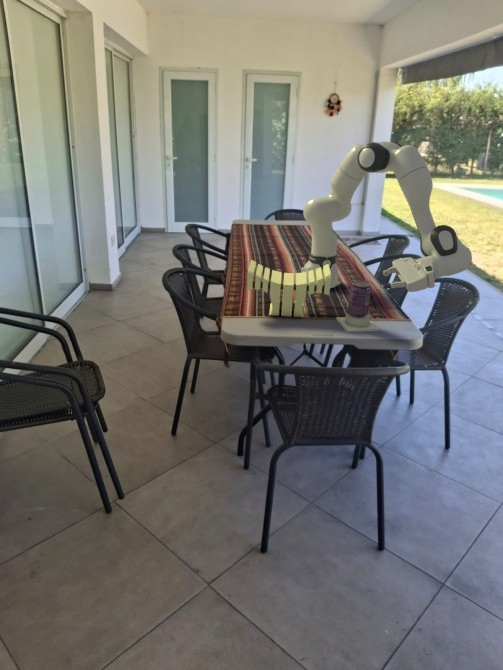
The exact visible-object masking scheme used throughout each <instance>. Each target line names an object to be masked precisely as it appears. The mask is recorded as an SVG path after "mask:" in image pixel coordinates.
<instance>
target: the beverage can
mask: <svg viewBox="0 0 503 670" xmlns="http://www.w3.org/2000/svg"><path fill="white" fill-rule="evenodd" d="M370 286H371V284H370V283H369V282H366V281H361V280H358V281H357V280H355V281H353V282H352V284H351V286H350V289H349V299H348V307H347V312H348V314H350V315H351V316H353V317H358V318H360V317H364V316H366V315H367V313H368V311H369V304H370V298H371V292H372V291H371V290H372V289H371V287H370ZM368 314H369V313H368Z"/></svg>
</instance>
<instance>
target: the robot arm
mask: <svg viewBox="0 0 503 670" xmlns="http://www.w3.org/2000/svg"><path fill="white" fill-rule="evenodd" d="M389 172H392V173H393V174H394V176H395V178H396V180H397V183H398V185H399V187H400V189H401V192H402V194H403V195H404V198H405V200H406V202H407V204H408V207H409V209H410V211H411V214H412V217H413V220H414V223H415V225H416V228H417V231H418V234H419V237H420V239H419V240H420V243H419V246H420V248H419V249H420V252H421V254H422V255H423V257H419V258H413V257H410V256H408V257H403V258H402V257H401V258H397V259H394V260H393V261H391V262H392V263H391V264H392V266H391V267H389V268H388V269H385V270H383V271H382V274H383V276H384V277H388V276H390V274H396V276H397V277H398V278H399V280H400V281H396V280H393V281H391V282H389V283H390V284H389V285H390V287H391V289H396V288H406V290H407V291H408V292H409V293H414V292H415V293H416V292H419V291H423V290H427V289H433V288H435V285H436V282H435V281H436V280H438V279H440V278H442V277H449V276H453V275H456V274H457V275H458V274H460V273H462V272H464V271H466V270H468V269H469V268H470V266H471V265H472V256H473V255H472V252H471V249H470V248H469V247H468V246H466V244H465V245H464V244H463V242H462V241H461V240H460V238H459V237H458V235H457V233H456V231H455V229H454V228H453V227H452V226H450V225H447V224H440V225H438V226H437V225H436V223H435V221H434V218H433V217H434V216H433V215H432V212H431V209H430V207H431V206H430V201H431V200H430V198H431V195H432V191H433V185H434V183H433V179H432V175H431V172H430V170H429V168H428V166H427V163H426V161H425V159H424V157H423V156H422V154H421V152H420V151H419V150H418V149H417V147H415V146H414V145H412V144H406V145H401V144H400V143H397V142H391V141H378V142H377V141H376V142H375V141H373V142H369V143H368V142H367V143H366V144H363V143H362V144H360V143H359V144H356V145H353V146H352V147H351V149H349V151H348V152H347V153H346V155H345V156H344V157H343V159H342V160H341V162H340V164H339V165H338V167H337V168H336V169H335V171H334V174H333V175H332V177H331V179H330V182H329V183H330V188H331V189H330V192H329V193H328V194H327V195H326V196H322V197H321V196H320V197H316V198H313V199H311V200H308V201H307V202H306V203H305V204H304V206H303V213H302V214H303V218H304V219H305V221H306V222H307V223H308V224H309V228H310V230H311V249H310V250H311V251H310V254H309V255H308V261H307V262H306V263H305V264H304V267H302V266H301V268H300V269H301V270H300V273H302V272H306V280H307V285H308V271H311V270H313V272H314V279H315V285H316V273H315V272H316V269H317V268H320V267H321V271H322V276H323V284H322V286H324V274H323V266H325V265H327V264H329V268H330V272H331V283H330V289H332V288H336V287H337V286H339V285H341V281H340V280H339V266H338V265H337V260H338V256H337V255H338V254H337V247H338V239H339V238H338V236H337V234H336V233H335V232H334V230H333V229H334V228H333V223H335V222H339V221H342V220H344V219H346V218H348V217H349V216H350V215H351V212H352V203H351V201H352V199H353V196H354V194H355V192H356V191H357V189H358V187H359V186H360V184H361V182H362V181H363V180H364V178H365V177H366V174H367V173H371V174H373V173H376V174H377V173H379V174H383V173H389Z"/></svg>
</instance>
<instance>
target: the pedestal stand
mask: <svg viewBox="0 0 503 670" xmlns="http://www.w3.org/2000/svg"><path fill="white" fill-rule="evenodd" d="M371 318H372V316H371V314H369V313H367V315H366V316H364V317H360V318H358V317H353V316H351V315H350V314H348V311H347V312H346V313H345V316H342V317H341V316H340V317H337V316H336V319H335V320H336V321H337V323H339V324H340V326H342V328H343V329H344V330H345V331H346V332H347V333H354V332H355V333H356V332H357V333H359V332H379V331H380V328H379V327H378V326H377V325H376V324H375V323H374V322H373V321H372V320H371Z"/></svg>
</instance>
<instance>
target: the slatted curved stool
mask: <svg viewBox="0 0 503 670" xmlns="http://www.w3.org/2000/svg"><path fill="white" fill-rule="evenodd" d="M247 270H248V271H247V281H246V283H247V286H246V287H247V288H246V291H253V289H254V290H256V291H257V290H258V291H260V290H262V291H263V292H264V293H266V294H268V292H269V299H270V301H271V303H270V304H269V305H270V306H269V313H268V316H280V315H281V316H282V317H292V315H293V318H295V317H296V318H304V303H305V301H306V299H307V298H306V297H307V296H311V295H314V293H316V294H322V293H323V294H324V295H327V296H330V294H331V293H330V292H331V291H330V290H331V288H330V283H331V272H330V268H329V264H327V265H325V266H323V274H324V286H322V284H323V276H322V271H321V267H320V268H317V269H316V272H315V273H316V285H315V279H314V272H313V270H311V271H308V285H307V280H306V272H296V273H294V272H293V273H292V272H291V273H289V272H284V273H283V274H282V271H278V270H274V269H272V271H271V269H270V268H269V267H265V268H264V265H262V264H260V263H258V264H257V262H256V261H255V260H253V259H250V262H249V266H248V269H247ZM263 271H264V272H263ZM270 273H271V278H270ZM282 275H283V277H282ZM294 275H295V277H294ZM254 278H255V279H254ZM282 278H283V282H282ZM294 278H295V279H294ZM294 280H295V283H294ZM269 281H270V282H269ZM281 291H282V297H281ZM294 291H295V294H294ZM307 294H308V295H307ZM294 295H295V296H294ZM281 298H282V299H281ZM293 299H294V300H293ZM280 310H281V314H280ZM292 311H293V313H292Z"/></svg>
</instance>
